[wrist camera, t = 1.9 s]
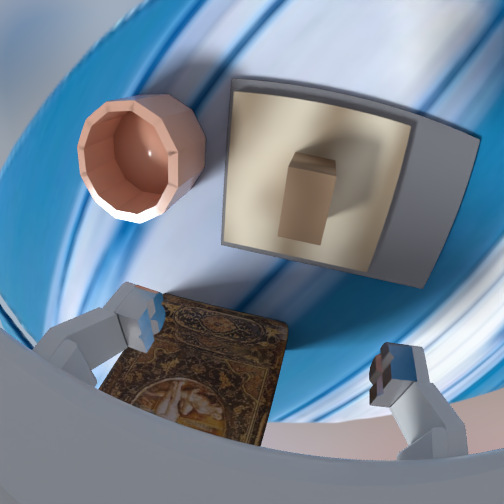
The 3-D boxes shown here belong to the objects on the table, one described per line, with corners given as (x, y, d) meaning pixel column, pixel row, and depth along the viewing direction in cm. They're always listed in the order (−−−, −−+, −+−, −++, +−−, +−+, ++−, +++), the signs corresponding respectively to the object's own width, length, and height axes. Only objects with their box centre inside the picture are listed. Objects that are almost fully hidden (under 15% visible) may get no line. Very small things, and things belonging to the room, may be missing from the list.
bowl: (208, 94, 21) (179, 99, 17) (203, 205, 26) (179, 231, 22) (111, 96, 22) (74, 104, 18) (116, 191, 28) (86, 212, 24)
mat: (477, 138, 17) (479, 139, 16) (421, 285, 25) (422, 288, 25) (233, 78, 20) (231, 78, 19) (222, 242, 28) (221, 244, 28)
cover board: (408, 124, 18) (428, 136, 14) (366, 267, 25) (370, 302, 21) (237, 91, 20) (214, 94, 16) (226, 236, 27) (207, 266, 23)
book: (162, 320, 37) (69, 480, 17) (156, 290, 34) (41, 466, 14) (284, 351, 35) (227, 550, 14) (291, 322, 32) (226, 555, 11)
